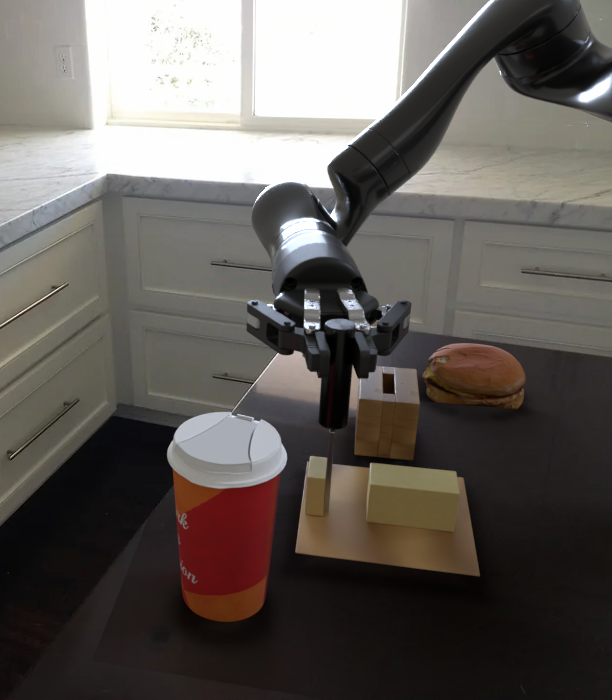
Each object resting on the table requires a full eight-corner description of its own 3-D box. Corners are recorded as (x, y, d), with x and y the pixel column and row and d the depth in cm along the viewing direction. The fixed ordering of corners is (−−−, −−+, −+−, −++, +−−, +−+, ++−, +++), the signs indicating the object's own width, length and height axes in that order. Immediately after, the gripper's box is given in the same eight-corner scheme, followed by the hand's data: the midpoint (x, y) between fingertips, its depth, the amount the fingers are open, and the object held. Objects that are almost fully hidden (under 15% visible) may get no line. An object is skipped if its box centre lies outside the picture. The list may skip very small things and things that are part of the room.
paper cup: (197, 562, 66) (198, 398, 60) (294, 592, 62) (304, 422, 57) (148, 627, 59) (144, 451, 54) (253, 665, 56) (260, 482, 50)
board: (461, 492, 73) (463, 477, 73) (477, 592, 62) (480, 576, 61) (306, 475, 76) (307, 461, 76) (294, 568, 65) (295, 552, 64)
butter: (450, 508, 69) (456, 471, 67) (454, 532, 66) (460, 493, 64) (366, 499, 70) (370, 462, 69) (366, 522, 67) (370, 484, 66)
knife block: (408, 435, 82) (416, 368, 79) (411, 474, 76) (420, 404, 73) (354, 430, 83) (360, 364, 80) (353, 468, 77) (359, 398, 74)
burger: (542, 406, 87) (550, 364, 85) (467, 425, 84) (473, 382, 82) (474, 368, 95) (479, 329, 93) (403, 384, 92) (407, 344, 90)
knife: (341, 492, 70) (356, 317, 64) (340, 513, 68) (355, 333, 61) (314, 489, 71) (325, 315, 64) (311, 510, 68) (324, 331, 62)
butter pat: (325, 494, 71) (327, 457, 69) (322, 516, 68) (325, 478, 67) (307, 492, 71) (310, 455, 70) (304, 514, 68) (307, 476, 67)
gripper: (238, 241, 76) (247, 317, 60) (399, 241, 75) (451, 317, 59) (236, 321, 79) (244, 412, 63) (391, 321, 78) (438, 414, 62)
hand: (344, 366), depth 61 cm, fingers closed on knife, 2 cm apart
